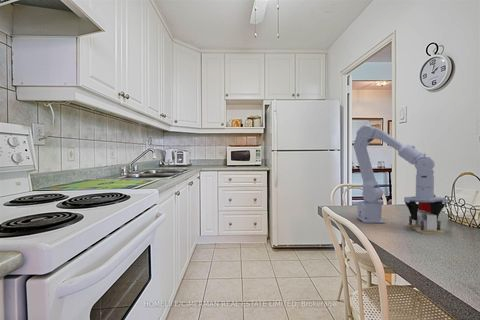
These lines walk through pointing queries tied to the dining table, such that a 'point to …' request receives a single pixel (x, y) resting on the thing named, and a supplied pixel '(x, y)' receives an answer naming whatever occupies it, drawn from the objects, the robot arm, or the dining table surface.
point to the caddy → (423, 227)
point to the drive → (426, 220)
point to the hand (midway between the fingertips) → (424, 220)
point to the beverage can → (425, 206)
